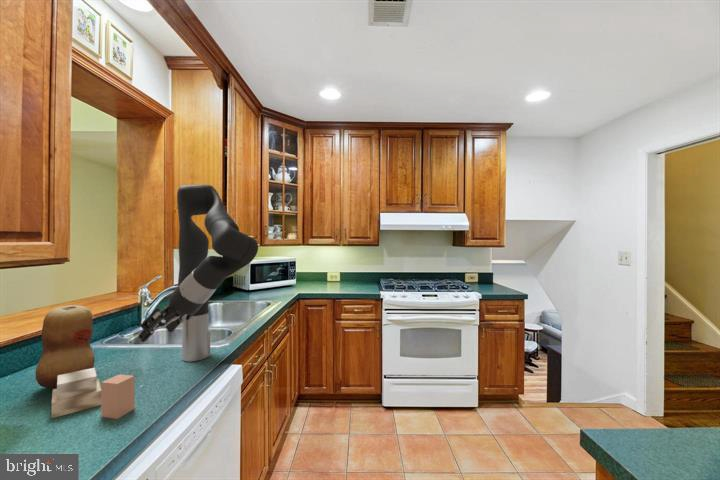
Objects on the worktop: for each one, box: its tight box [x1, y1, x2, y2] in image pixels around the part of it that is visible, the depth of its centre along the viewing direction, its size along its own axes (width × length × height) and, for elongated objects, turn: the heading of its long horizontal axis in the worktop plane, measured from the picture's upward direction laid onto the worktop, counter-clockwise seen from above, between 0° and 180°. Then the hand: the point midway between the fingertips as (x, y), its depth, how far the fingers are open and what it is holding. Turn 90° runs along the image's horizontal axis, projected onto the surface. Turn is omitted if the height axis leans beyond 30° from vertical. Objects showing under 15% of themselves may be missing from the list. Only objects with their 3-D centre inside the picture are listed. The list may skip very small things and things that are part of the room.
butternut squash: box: [35, 304, 96, 390], centre depth 100 cm, size 14×13×25 cm
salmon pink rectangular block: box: [100, 373, 136, 420], centre depth 85 cm, size 5×5×9 cm
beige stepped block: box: [51, 367, 101, 419], centre depth 89 cm, size 10×10×8 cm
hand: (155, 334), depth 83 cm, fingers open, 8 cm apart
